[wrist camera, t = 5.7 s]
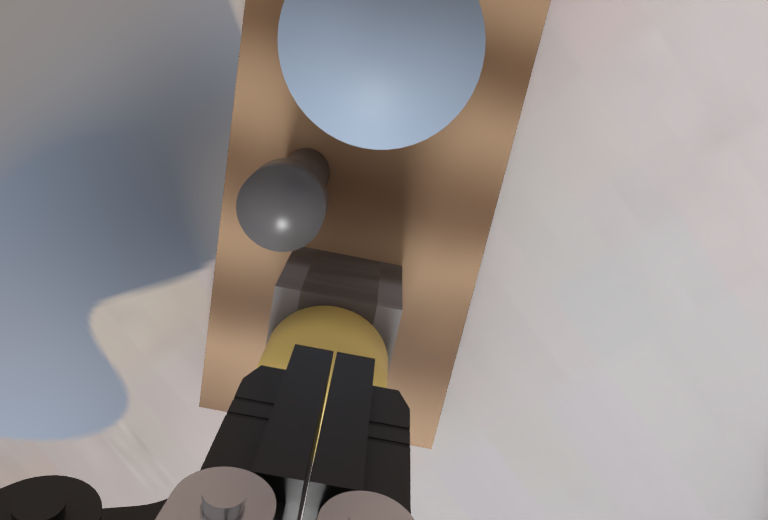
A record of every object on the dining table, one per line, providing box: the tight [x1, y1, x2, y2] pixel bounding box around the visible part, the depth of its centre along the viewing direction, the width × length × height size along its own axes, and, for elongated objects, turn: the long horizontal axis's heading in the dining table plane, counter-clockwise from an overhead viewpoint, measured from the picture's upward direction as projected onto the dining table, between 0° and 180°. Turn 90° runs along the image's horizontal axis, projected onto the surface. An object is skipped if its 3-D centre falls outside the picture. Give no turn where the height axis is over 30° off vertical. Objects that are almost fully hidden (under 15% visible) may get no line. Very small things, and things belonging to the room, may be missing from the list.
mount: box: [199, 0, 551, 449], centre depth 27 cm, size 26×12×8 cm, turn 169°
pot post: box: [236, 148, 330, 252], centre depth 25 cm, size 3×3×7 cm
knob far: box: [256, 306, 388, 461], centre depth 26 cm, size 5×5×8 cm
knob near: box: [277, 0, 486, 150], centre depth 18 cm, size 5×5×8 cm
